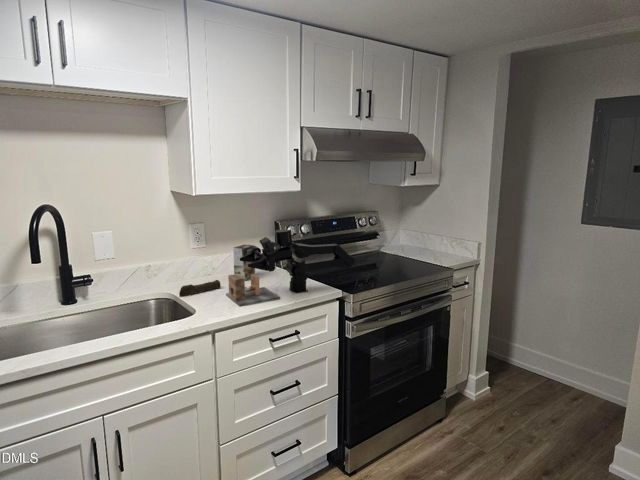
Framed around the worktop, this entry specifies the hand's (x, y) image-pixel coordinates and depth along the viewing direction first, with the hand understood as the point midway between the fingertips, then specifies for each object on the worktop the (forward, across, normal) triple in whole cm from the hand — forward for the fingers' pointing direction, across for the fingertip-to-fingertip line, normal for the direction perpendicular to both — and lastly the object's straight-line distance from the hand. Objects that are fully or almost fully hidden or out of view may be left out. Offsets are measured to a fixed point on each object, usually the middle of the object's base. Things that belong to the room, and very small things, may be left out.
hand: (243, 262), depth 175 cm
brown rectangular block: (0, 0, +15) cm, 15 cm away
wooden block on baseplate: (-2, 0, +16) cm, 16 cm away
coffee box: (-10, -29, +19) cm, 36 cm away
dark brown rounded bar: (+15, -18, +16) cm, 28 cm away
